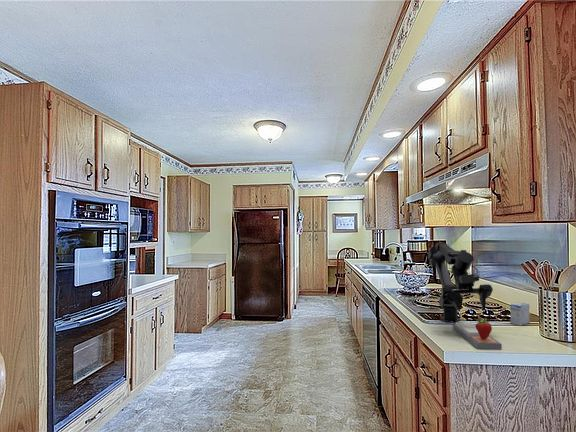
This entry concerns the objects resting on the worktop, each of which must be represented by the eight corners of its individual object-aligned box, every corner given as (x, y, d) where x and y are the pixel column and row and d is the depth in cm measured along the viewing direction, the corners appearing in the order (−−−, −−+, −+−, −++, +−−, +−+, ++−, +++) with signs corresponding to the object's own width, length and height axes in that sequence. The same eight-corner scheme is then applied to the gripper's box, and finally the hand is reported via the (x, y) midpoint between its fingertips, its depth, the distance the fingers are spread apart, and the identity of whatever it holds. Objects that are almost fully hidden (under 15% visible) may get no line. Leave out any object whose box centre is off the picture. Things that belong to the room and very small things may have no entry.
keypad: (453, 329, 150) (452, 322, 150) (473, 330, 149) (473, 322, 149) (477, 349, 127) (476, 340, 127) (501, 349, 126) (501, 340, 126)
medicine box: (518, 320, 162) (518, 301, 162) (529, 323, 158) (529, 303, 158) (510, 323, 157) (509, 304, 158) (521, 326, 154) (520, 306, 154)
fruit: (481, 336, 135) (480, 314, 135) (495, 340, 130) (494, 318, 130) (472, 338, 132) (472, 316, 132) (487, 342, 127) (486, 320, 127)
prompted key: (471, 341, 134) (471, 336, 134) (488, 342, 134) (488, 336, 134) (479, 347, 128) (478, 342, 128) (497, 348, 127) (497, 342, 127)
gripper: (440, 267, 146) (449, 301, 136) (489, 264, 143) (502, 299, 132) (437, 281, 154) (445, 315, 144) (483, 279, 151) (495, 313, 140)
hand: (471, 310), depth 140 cm, fingers open, 9 cm apart
